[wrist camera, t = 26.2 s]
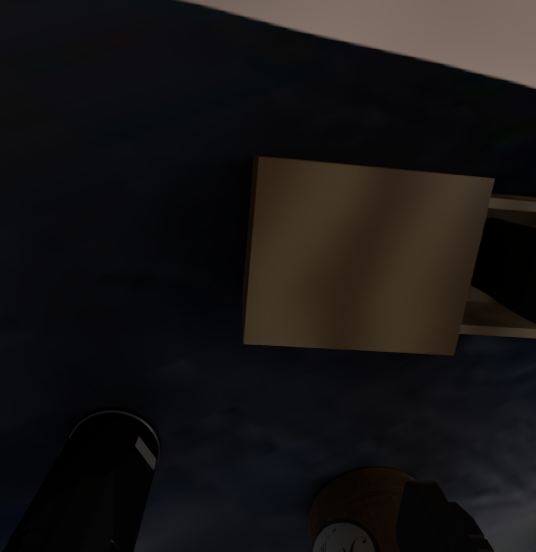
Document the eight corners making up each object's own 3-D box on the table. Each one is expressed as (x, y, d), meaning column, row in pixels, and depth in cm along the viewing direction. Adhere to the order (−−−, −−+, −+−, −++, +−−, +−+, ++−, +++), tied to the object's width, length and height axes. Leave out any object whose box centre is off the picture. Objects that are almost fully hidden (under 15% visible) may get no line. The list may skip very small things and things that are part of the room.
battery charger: (503, 290, 41) (599, 341, 30) (466, 286, 41) (549, 337, 30) (524, 218, 39) (635, 245, 28) (485, 214, 39) (582, 238, 28)
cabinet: (434, 172, 40) (495, 178, 30) (407, 311, 43) (454, 355, 34) (253, 154, 38) (258, 156, 29) (242, 300, 42) (243, 344, 33)
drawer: (622, 196, 40) (710, 206, 33) (583, 320, 44) (655, 355, 36) (401, 175, 39) (441, 182, 31) (379, 307, 42) (410, 341, 34)
